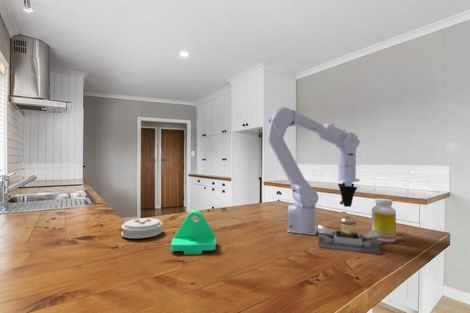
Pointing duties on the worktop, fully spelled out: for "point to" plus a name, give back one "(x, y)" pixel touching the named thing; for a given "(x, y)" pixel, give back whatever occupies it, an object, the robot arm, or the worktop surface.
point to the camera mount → (194, 235)
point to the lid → (141, 228)
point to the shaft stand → (349, 241)
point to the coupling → (347, 227)
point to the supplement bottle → (384, 220)
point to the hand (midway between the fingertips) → (346, 204)
